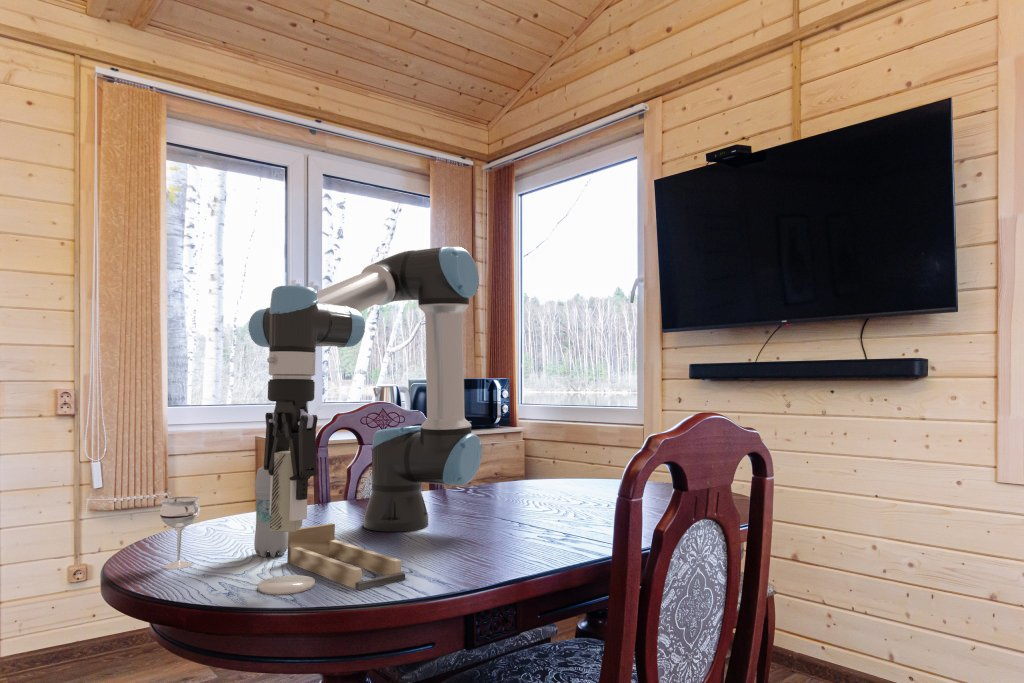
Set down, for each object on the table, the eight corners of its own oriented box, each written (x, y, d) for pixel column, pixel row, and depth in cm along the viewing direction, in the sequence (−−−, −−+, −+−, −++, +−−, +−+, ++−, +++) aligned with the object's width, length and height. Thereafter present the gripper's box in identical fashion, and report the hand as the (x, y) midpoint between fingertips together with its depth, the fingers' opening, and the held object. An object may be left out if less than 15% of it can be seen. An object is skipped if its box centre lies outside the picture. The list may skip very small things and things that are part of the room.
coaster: (248, 586, 116) (248, 582, 116) (298, 575, 122) (298, 572, 122) (273, 598, 109) (273, 594, 110) (325, 586, 116) (325, 582, 116)
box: (276, 527, 118) (280, 450, 120) (303, 527, 119) (307, 450, 120) (268, 532, 113) (273, 452, 115) (296, 532, 114) (300, 452, 115)
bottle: (296, 552, 139) (298, 450, 140) (274, 560, 133) (276, 454, 134) (268, 549, 141) (270, 449, 142) (245, 557, 135) (248, 452, 136)
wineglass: (201, 567, 127) (203, 500, 128) (159, 572, 124) (162, 503, 125) (195, 559, 133) (197, 495, 134) (155, 563, 130) (158, 498, 130)
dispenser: (287, 562, 131) (288, 529, 131) (331, 554, 138) (331, 523, 138) (359, 590, 114) (359, 552, 114) (405, 579, 120) (405, 543, 121)
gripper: (245, 377, 122) (240, 511, 121) (299, 377, 108) (295, 528, 107) (285, 378, 127) (281, 506, 126) (341, 378, 114) (338, 522, 112)
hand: (287, 516), depth 116 cm, fingers closed on box, 6 cm apart
